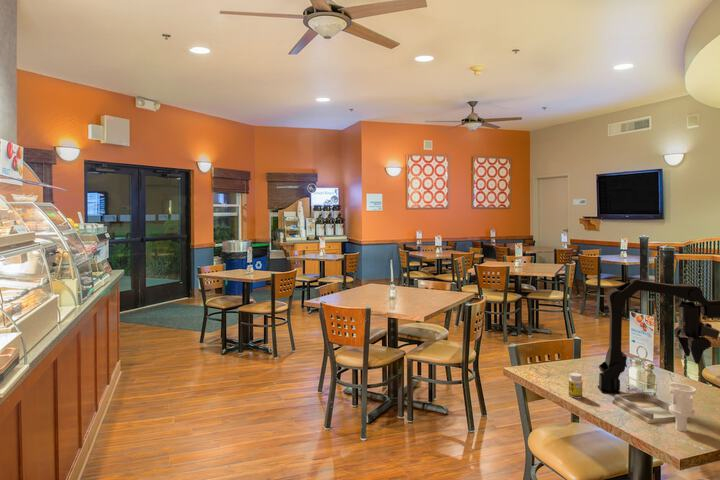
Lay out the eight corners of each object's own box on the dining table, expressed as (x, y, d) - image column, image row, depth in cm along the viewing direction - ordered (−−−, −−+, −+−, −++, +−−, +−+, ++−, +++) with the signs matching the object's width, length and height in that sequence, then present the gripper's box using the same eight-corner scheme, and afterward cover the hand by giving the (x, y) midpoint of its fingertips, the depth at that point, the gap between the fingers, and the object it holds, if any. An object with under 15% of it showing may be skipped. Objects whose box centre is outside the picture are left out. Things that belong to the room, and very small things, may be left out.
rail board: (612, 403, 180) (612, 395, 179) (645, 399, 182) (645, 392, 182) (648, 423, 163) (648, 414, 163) (684, 419, 166) (684, 410, 165)
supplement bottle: (566, 393, 189) (566, 372, 188) (577, 393, 189) (578, 372, 189) (572, 398, 184) (573, 376, 183) (584, 398, 184) (585, 376, 184)
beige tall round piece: (667, 422, 163) (668, 378, 162) (692, 427, 160) (694, 382, 159) (669, 431, 157) (670, 385, 156) (695, 436, 154) (697, 389, 153)
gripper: (728, 324, 171) (728, 368, 172) (706, 313, 189) (706, 352, 190) (691, 324, 174) (692, 367, 175) (673, 313, 192) (674, 352, 193)
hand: (692, 359), depth 183 cm, fingers open, 9 cm apart
